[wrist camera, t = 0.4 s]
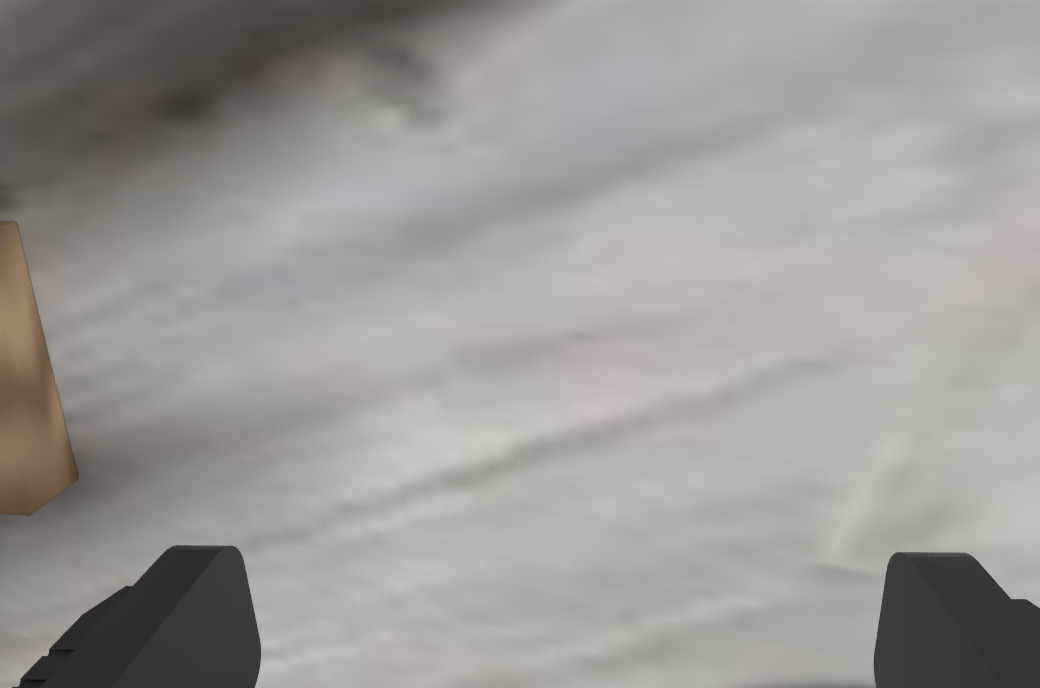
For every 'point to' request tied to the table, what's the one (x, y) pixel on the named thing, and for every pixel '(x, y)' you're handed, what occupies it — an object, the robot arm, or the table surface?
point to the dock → (27, 394)
